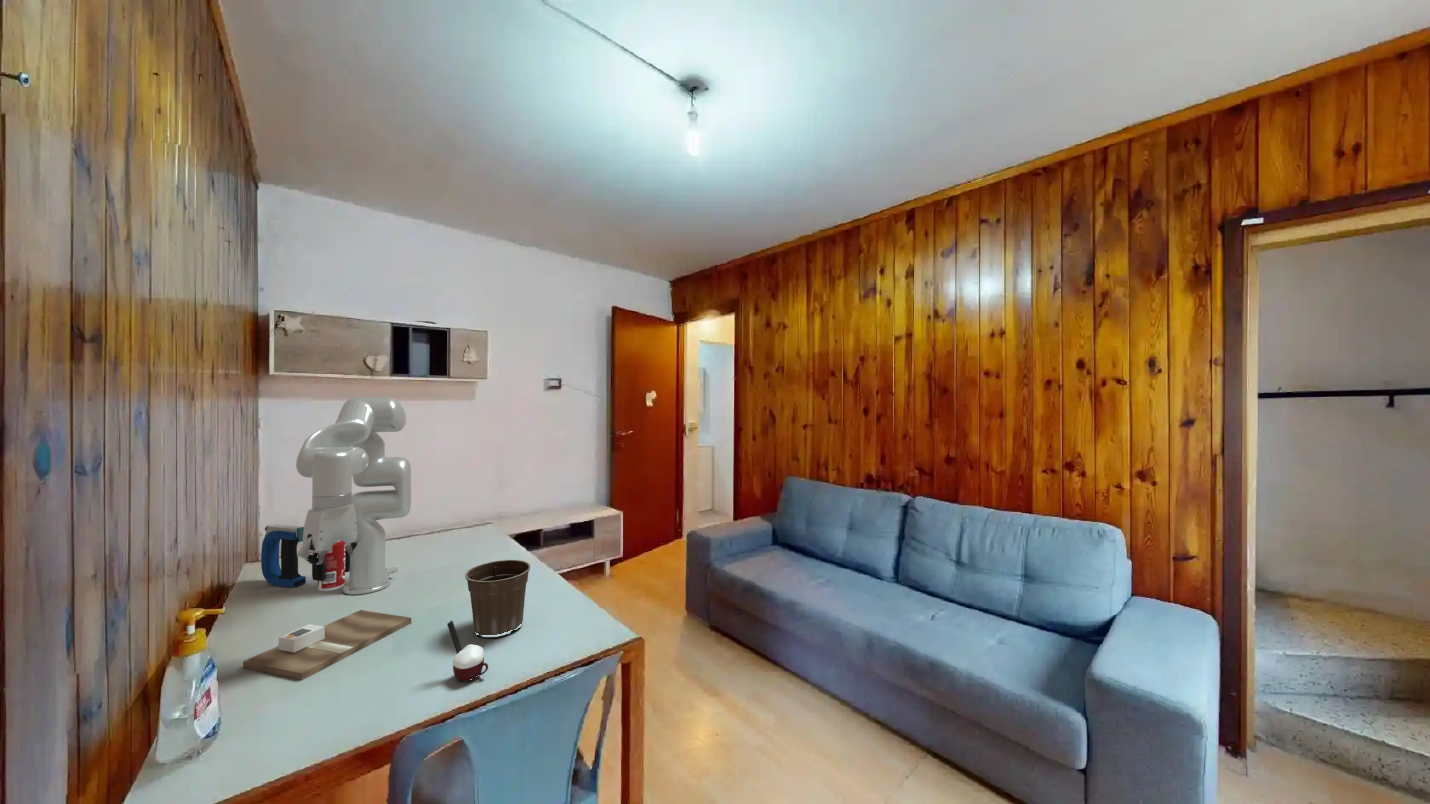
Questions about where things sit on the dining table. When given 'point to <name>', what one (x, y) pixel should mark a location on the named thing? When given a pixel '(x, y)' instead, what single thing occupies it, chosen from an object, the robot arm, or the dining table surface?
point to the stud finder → (301, 638)
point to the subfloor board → (329, 645)
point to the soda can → (334, 568)
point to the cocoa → (466, 658)
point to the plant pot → (497, 595)
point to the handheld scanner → (282, 555)
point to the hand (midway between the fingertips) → (331, 575)
